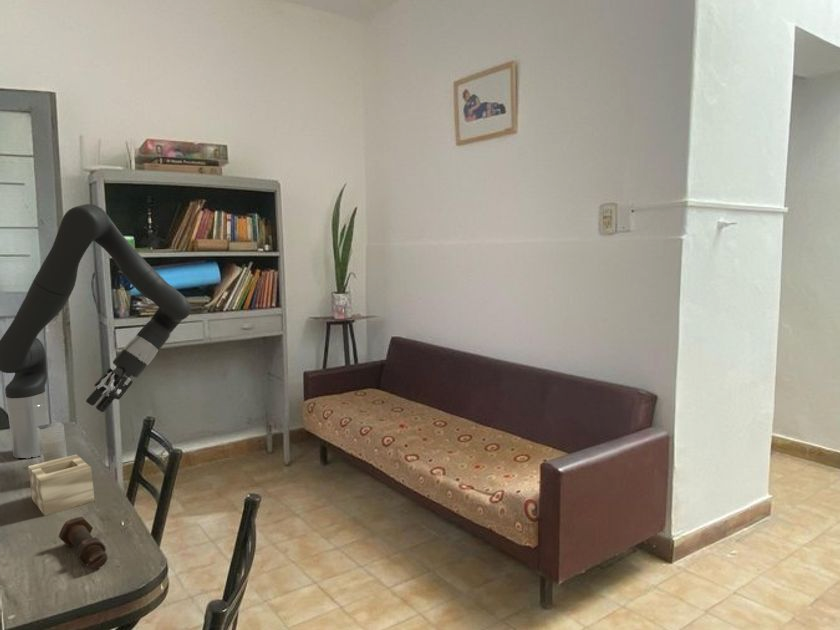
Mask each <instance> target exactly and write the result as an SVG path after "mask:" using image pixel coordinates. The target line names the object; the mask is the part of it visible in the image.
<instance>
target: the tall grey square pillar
mask: <svg viewBox="0 0 840 630" xmlns="http://www.w3.org/2000/svg"><path fill="white" fill-rule="evenodd" d="M37 431H38V439H39V447H40V456H39V457H40V461H41V462H40V463H44V462H48V461H52V460H56V459H60V458H64V457H68V452H67V451H68V450H67V443H66V435H65V427H64V423H62V422H61V421H57V422H56V421H55V422H51V423H49V424H46V425H41V426H37Z"/></svg>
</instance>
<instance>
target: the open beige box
mask: <svg viewBox="0 0 840 630" xmlns="http://www.w3.org/2000/svg"><path fill="white" fill-rule="evenodd" d="M28 476H29V485H30V492H31V500H32V501H33V502H34V504H35V505H36V506H37V508H38V509H39V510H40V511H41V513H42V515H43V516H44V517H46V516H49V515H53V514H56V513H59V512H62V511H65V510H69V509H72V508H75V507H78V506H79V507H80V506H81V505H86V504H89V503H92V502H95V492H94V491H95V490H94V484H93V483H94V481H93V471H92V467H91V466H90V465H89V464H88V463H87V462H86V461H85V460H83V459H82V458H81V457H80V456H79V455H78V454H73V455H67V457H64V458H60V459H56V460H52V461H48V462H44V463H41V462H40V463H36V464H35V463H34V464H32V465H28Z"/></svg>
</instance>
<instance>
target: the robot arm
mask: <svg viewBox="0 0 840 630" xmlns="http://www.w3.org/2000/svg"><path fill="white" fill-rule="evenodd" d="M93 241H94V242H95V243H97V245H99V246H100V247H101V248H103V249H104V250H105V251H106V253H107V254H108V255H109V256H110V257H111V258H112V260H113V261H114V262H115V265H116V266H117V268H119V269H118V270H120V273H122V275H123V277H124V278H125V279H126V280H127V281H128V282H129V284H131V285H132V287H134V289H135V290H136V291H138V292H139V293H140V294H141V295H142V297H144V298H146V299H147V300H150V301H152V303H153V304H155V305H156V306H157V307H158V309H157V310H156V311H155V313H154V314H153V315H152V317H151V318H150V320H149V321H148V322H146V323H145V325H144V326H142V328H141V329H140V330H139V331H138V332H137V334H136V335H135V336H133V338H132V339H130V340H129V342H128V343H126V345H125V346H124V347H123V349H122V350H121V351H120V352H119V353H118V355H117V356H116V357H114V359H113V361H112V364H113V365H114V366H116V367H115V368H114V369H112V368H111V367H109V368H108V369H107V370H106V371H105V372H104V373H103V374H102V375H101V377H100V378H99V379H98V380H97V381H96V382H95V383H94V390H93V391H92V393H91V394H90V395H89V396H88V397H87V398H86V401H85V402H86V403H87V404H89V405H90V406H91V407H92V406H95V409H96V410H98V411H99V412H101V413H104V412H105V411H106V410H107V409H108V408H109V406H110V405H111V404H112V403H113V402H115V401H116V400H118V401H119V400H120V399H121V398H122V397H123V396H124V394H125V393H126V392H127V390H128V389H129V388H130V387H131V386H132V384H133V383H134V380H133V379H131V377H132V378H134V379H137V378H139V377H140V376H141V374H142V373H143V372H144V371H145V369H146V368H147V367H148V366H149V365H150V363H151V362H152V361H153V359H154V358H155V357H156V355H157V353H158V351H160V349H161V348H162V347H163V346H164V344H166V342H167V341H168V340H169V338H170V336H171V333H172V332H173V331H174V330H175V329H176V328H177V326H178V325H179V324H180V323H181V322H182V321H183V320H186V319H187V318H188V317H189V316H190V314H191V310H192V307H191V303H190V301H189V300H188V299H187V298H186V296H184V295H183V294H182V293H181V292H180V291H178V290H177V289H176V288H175V287H173V285H171V284H169V283H168V282H167V281H166V280H165V279H164V278H163V276H161V275H160V274H159V272H157V270H155V268H153V266H151V265H150V264H149V263H148V262H147V261H146V259H144V258H143V257H142V256H141V255H140V254H139V252H138V251H137V250H136V249H135V248H134V247H133V246H132V245H131V243H130V242H129V241H128V240H127V239H126V237H125V236H124V235H123V233H122V232H120V230H119V228H118V227H117V226H116V224H115V223H114V222H113V220H112V219H111V218H110V216H109V215H108V214H107V212H106V211H105V210H104V209H103V208H102V207H100V206H98V205H96V204H92V203H86V204H81V205H77V206H74V207H71V208H70V209H68V210H67V211H66V213H64V215H63V218H62V219H61V222H60V224H59V227H58V230H57V234H56V236H55V238H54V241H53V244H52V246H51V249H50V250H49V252H48V254H47V256H45V259H44V261H43V262H42V264H41V266H40V268H39V270H38V272H37V273H36V275H35V277H34V279H33V280H32V283H31V285H30V286H29V289H28V291H27V293H26V295H25V297H24V299H23V301H22V303H21V304H20V307H19V309H18V311H17V313H16V314H15V316H14V318H13V320H12V322H11V324H10V325H9V326H8V328H7V329H6V331H5V333H4V334H2V335H3V336H2V337H1V339H0V372H1V373H6V374H14V375H13V377H12V379H11V381H9V383H8V384H7V385H6V386H5V389H4V392H5V399H6V400H5V402H6V408H7V414H8V422H9V423H8V424H9V431H10V440H11V448H12V455H13V456H14V457H15V458H14V457H13V458H14V459H18V458H26V459H31V457H33V458H37V457H41V456H40V447H39V439H38V431H37V426H41V425H46V424H50V420H49V418H50V417H49V411H48V409H49V408H48V402H47V395H46V394H47V393H46V384H47V380H48V372H47V371H48V369H47V367H48V365H47V354H46V349H45V347H44V344H43V343H42V341H41V340H40V339H39V338H38V336H39V334H40V333H41V331H42V330H43V329H44V328H45V327H46V326H47V325H49V323H50V322H52V321H53V320H54V319H55V318H56V317H57V315H58V314H59V313H61V311H62V310H63V309H64V307H65V306H66V304H67V302H68V301H69V299H70V297H71V295H72V293H73V290H74V289H75V285H76V282H77V277H78V272H79V271H78V270H79V265H80V263H81V260H82V258H83V256H85V253H86V252H87V249H89V247H90V245H92V243H93ZM105 393H106V395H104V394H105ZM103 395H104V396H103ZM102 396H103V397H102ZM101 397H102V399H101V400H100V401H99V399H100V398H101ZM96 403H97V404H96Z"/></svg>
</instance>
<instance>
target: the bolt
mask: <svg viewBox="0 0 840 630" xmlns="http://www.w3.org/2000/svg"><path fill="white" fill-rule="evenodd" d="M93 528H94V526H92V524H90V523H89V522H88V521H87V520H86V519H85V518H84V517H83V516H78V517H75V518H72V519H69V520H67V521H65V522H64V524H63V525H62V527H61V530H59V535H58V538H59V539H60V540H61V541H62V542H63V543H64V544H65V545H67V547H68V548H70V547H74V548H75V550H76V552H75V555H74V556H75V557H76V558H77V559H78V561H80V563H82V564H83V565H84V566H88V567H89V568H90V569H92V570H96V569H99V568H101V567H103V566H104V565H105V564H106V562H107V561H108V554H107V552H106V550H107V546H106V545H105V544H104V543H103V542H102V541H101V539H99V538H98V537H97V536H92V535H91V533H92V530H93ZM73 545H74V546H73Z"/></svg>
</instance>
